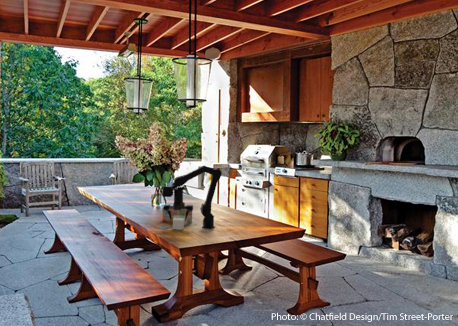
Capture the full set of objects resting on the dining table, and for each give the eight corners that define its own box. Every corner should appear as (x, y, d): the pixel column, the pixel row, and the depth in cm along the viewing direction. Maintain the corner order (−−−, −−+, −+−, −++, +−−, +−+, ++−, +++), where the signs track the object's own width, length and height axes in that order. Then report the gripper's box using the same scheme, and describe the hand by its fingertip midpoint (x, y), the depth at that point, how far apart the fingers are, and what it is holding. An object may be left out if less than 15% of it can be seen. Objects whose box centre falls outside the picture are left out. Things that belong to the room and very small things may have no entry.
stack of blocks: (162, 220, 294) (162, 203, 293) (167, 219, 299) (168, 201, 298) (187, 224, 283) (187, 206, 282) (192, 222, 288) (192, 205, 287)
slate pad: (174, 227, 273) (174, 226, 273) (164, 230, 265) (164, 229, 265) (165, 225, 278) (165, 224, 278) (155, 227, 271) (155, 227, 271)
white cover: (183, 227, 274) (184, 218, 273) (183, 229, 267) (183, 220, 266) (173, 226, 273) (174, 217, 273) (172, 229, 267) (173, 219, 266)
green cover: (187, 224, 283) (187, 215, 282) (181, 226, 277) (181, 217, 276) (178, 223, 286) (178, 214, 286) (172, 224, 280) (172, 216, 280)
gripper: (162, 198, 260) (162, 223, 261) (192, 198, 261) (192, 223, 262) (164, 195, 271) (164, 219, 272) (193, 196, 272) (193, 219, 273)
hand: (178, 220), depth 270 cm, fingers open, 9 cm apart
